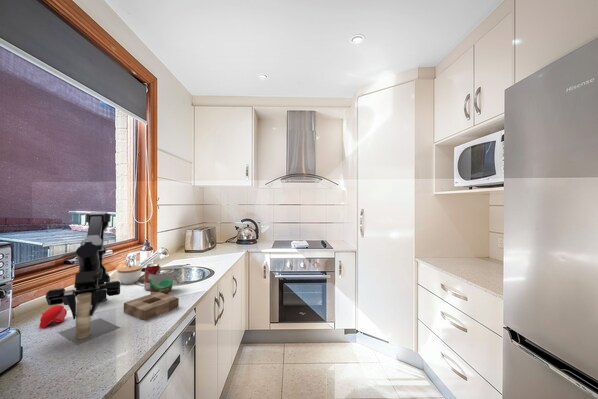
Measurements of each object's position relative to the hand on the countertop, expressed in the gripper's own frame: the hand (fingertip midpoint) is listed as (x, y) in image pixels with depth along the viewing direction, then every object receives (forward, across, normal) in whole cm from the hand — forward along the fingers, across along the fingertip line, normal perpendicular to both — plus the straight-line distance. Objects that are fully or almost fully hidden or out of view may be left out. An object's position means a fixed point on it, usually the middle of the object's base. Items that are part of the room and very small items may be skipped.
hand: (82, 317), depth 79 cm
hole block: (-4, +20, +14) cm, 25 cm away
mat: (+1, +1, +9) cm, 9 cm away
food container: (-17, +26, +27) cm, 41 cm away
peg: (+4, 0, +6) cm, 7 cm away
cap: (-8, -10, +18) cm, 23 cm away
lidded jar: (-36, +12, +46) cm, 60 cm away
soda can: (-24, +22, +34) cm, 47 cm away
